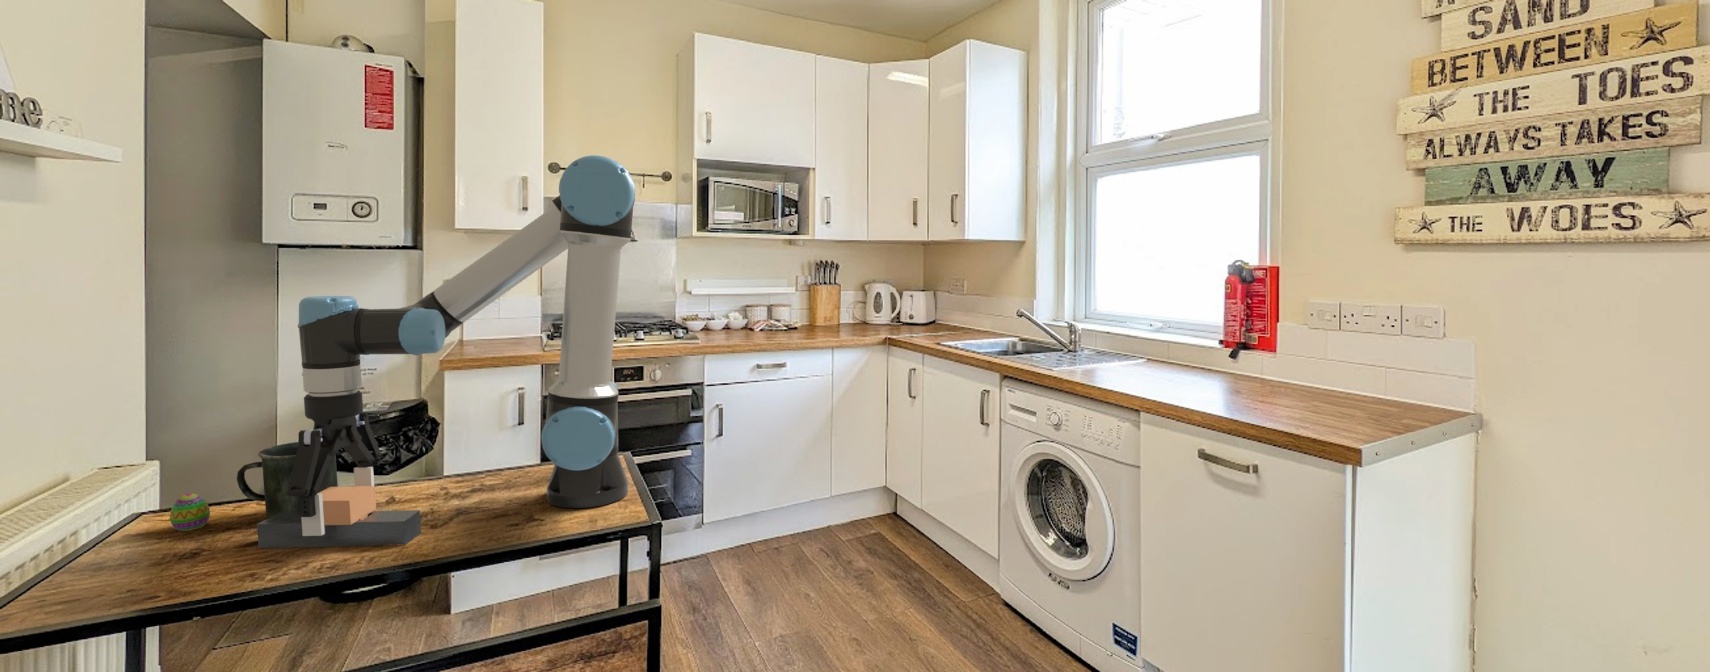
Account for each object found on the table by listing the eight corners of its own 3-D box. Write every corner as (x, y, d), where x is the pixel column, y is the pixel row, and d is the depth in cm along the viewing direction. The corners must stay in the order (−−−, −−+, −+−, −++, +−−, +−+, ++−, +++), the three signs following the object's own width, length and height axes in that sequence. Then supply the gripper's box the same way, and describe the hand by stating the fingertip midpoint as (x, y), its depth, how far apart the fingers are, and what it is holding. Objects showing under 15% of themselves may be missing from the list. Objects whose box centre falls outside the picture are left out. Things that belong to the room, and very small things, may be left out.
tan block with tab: (304, 543, 109) (301, 501, 109) (332, 526, 116) (330, 486, 116) (352, 542, 110) (349, 500, 109) (377, 525, 117) (374, 486, 116)
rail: (421, 532, 117) (420, 510, 117) (405, 544, 112) (404, 521, 112) (280, 535, 115) (279, 512, 114) (258, 548, 110) (256, 524, 109)
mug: (333, 518, 123) (329, 453, 121) (228, 530, 116) (222, 461, 115) (348, 498, 132) (344, 438, 131) (252, 508, 126) (247, 445, 125)
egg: (217, 525, 118) (214, 491, 118) (181, 535, 114) (177, 500, 113) (201, 520, 120) (198, 487, 120) (164, 530, 116) (161, 496, 115)
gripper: (355, 378, 122) (361, 493, 125) (249, 408, 98) (260, 550, 100) (400, 378, 123) (405, 492, 126) (306, 408, 99) (315, 549, 101)
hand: (341, 518), depth 113 cm, fingers open, 13 cm apart
